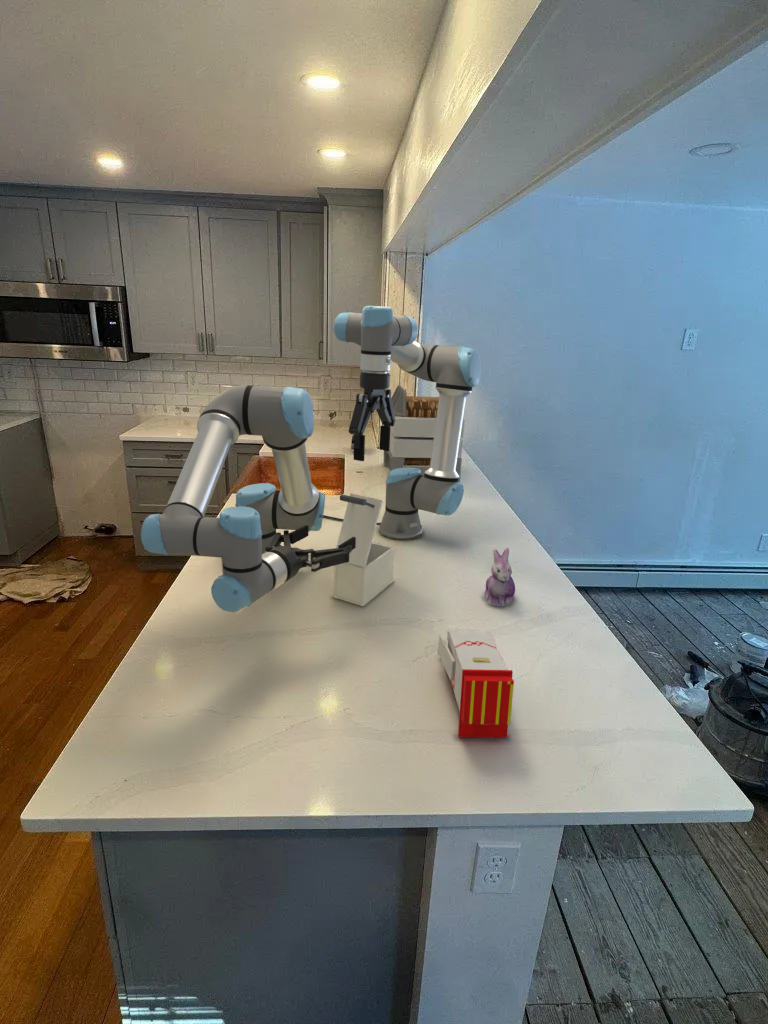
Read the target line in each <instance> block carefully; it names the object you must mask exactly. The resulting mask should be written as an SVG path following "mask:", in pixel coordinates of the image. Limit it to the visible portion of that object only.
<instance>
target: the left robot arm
mask: <svg viewBox="0 0 768 1024" xmlns="http://www.w3.org/2000/svg"><path fill="white" fill-rule="evenodd" d="M313 404H314V403H313V400H312V397H311V395H310V393H309V392H308V391H307V390H306V389H304V388H300V387H293V386H269V385H268V386H267V385H250V384H240V385H235V386H232V387H230V388H227V389H226V390H224V391H222V392H220V393H219V394H218V395H216V396H215V397H213V398H212V400H211V401H209V402H208V404H207V405H206V406H205V407H204V409H203V410H202V411H201V414H200V415H199V418H198V419H197V422H196V429H197V434H196V436H195V439H194V441H193V443H192V446H191V448H190V451H189V453H188V455H187V458H186V459H185V462H184V464H183V466H182V468H181V471H180V474H179V476H178V477H177V481H176V483H175V485H174V488H173V490H172V493H171V494H170V497H169V499H168V502H167V504H166V506H165V508H164V509H163V512H162V513H155V514H150V515H148V516H146V517H145V518H144V520H143V522H142V524H141V530H140V539H141V544H142V545H143V548H144V550H145V551H147V552H149V553H152V554H157V555H165V556H170V555H171V556H172V555H173V556H190V557H191V556H192V557H193V556H195V557H207V558H221V566H222V574H221V575H218V577H217V578H215V579H214V580H213V582H212V584H211V587H210V592H211V593H210V594H211V597H212V599H213V601H214V603H215V604H216V606H217V607H218V608H220V610H222V611H224V612H226V613H232V614H233V613H236V612H239V611H241V610H243V609H244V608H246V607H250V606H251V605H252V604H253V603H255V602H256V601H258V600H259V599H261V598H262V597H263V596H265V595H266V594H268V593H270V592H272V591H273V590H275V589H277V588H278V587H280V586H281V585H283V584H285V583H286V582H288V581H290V580H291V579H293V578H295V577H296V576H297V575H298V573H299V572H300V570H301V569H304V568H307V567H308V568H310V571H311V572H313V573H316V572H318V571H320V570H322V569H326V568H330V567H334V566H335V565H339V564H343V563H347V562H349V554H350V552H352V550H353V549H355V548H356V537H352V538H350V539H349V540H347V541H345V542H344V543H342V544H340V545H339V546H338V548H336V547H334V548H325V549H317V550H316V549H314V548H307V549H304V548H303V549H302V548H299V547H296V546H295V547H292V545H294V544H296V543H297V542H300V541H302V540H303V539H306V538H307V537H309V532H318V531H320V530H321V528H322V526H323V520H324V517H323V515H324V512H325V504H326V493H324V492H322V491H319V490H318V488H317V487H316V485H314V484H313V483H312V478H311V471H310V465H309V460H308V454H307V447H306V442H307V441H308V439H309V438H310V437H312V435H313V433H314V429H315V414H314V411H315V410H314V405H313ZM244 435H247V436H259V437H260V436H261V438H262V441H263V443H264V444H265V445H266V446H267V447H268V448H269V449H270V450H271V452H272V456H273V460H274V461H273V462H274V464H275V469H276V473H277V476H278V481H279V484H280V490H277V488H276V486H275V484H273V483H268V482H260V483H253V484H249V485H246V486H243V487H241V488H240V489H238V490H237V492H236V494H235V505H234V506H230V507H227V508H224V509H223V510H222V511H220V513H219V517H208V516H206V513H207V510H208V507H209V504H210V502H211V499H212V496H213V494H214V491H215V489H216V486H217V483H218V481H219V478H220V475H221V473H222V470H223V468H224V465H225V462H226V460H227V457H228V454H229V452H230V450H231V446H232V445H234V444H236V442H237V441H238V440H239V438H240V436H244ZM277 530H283V534H282V532H277ZM282 543H283V545H282ZM309 555H310V559H309Z"/></svg>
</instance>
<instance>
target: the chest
mask: <svg viewBox="0 0 768 1024" xmlns="http://www.w3.org/2000/svg"><path fill="white" fill-rule="evenodd" d="M395 549H396V548H395V547H394V546H389V545H385V544H382V543H379V542H374V541H372V544H371V548H370V552H369V556H368V559H367V563H366V567H362V566H358V565H354V564H351V563H343V564H339V565H335V566H333V598H335V599H338V600H341V601H345V602H347V603H351V604H353V605H357V606H361V607H364V606H366V605H367V604H368V603H369V602H370V601H372V600H373V599H374V598H376V596H377V595H379V594H380V593H381V592H382V591H384V590H385V589H386V588H387V587H389V585H391V584H392V583H394V568H395V567H394V565H395Z"/></svg>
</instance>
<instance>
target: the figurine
mask: <svg viewBox="0 0 768 1024" xmlns="http://www.w3.org/2000/svg"><path fill="white" fill-rule="evenodd" d="M492 552H493V553H492V554H493V564H492V567H491V569H490V570H491V575H490V576H489V577H488V578H487V579H486V581H485V591H484V599H485V600H486V601H487V603H488V604H489V605H491V606H494V607H504V606H508V605H510V604H511V603H512V602H513V600H514V596H515V593H516V584H515V581H514V579H513V577H512V573H513V570H512V566H511V564H510V562H509V557H510V548H509V547H505V549H504V550H503V552H502V553H501V554H500V552H499V551H498V549H497V548H493V549H492Z"/></svg>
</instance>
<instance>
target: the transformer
mask: <svg viewBox="0 0 768 1024" xmlns="http://www.w3.org/2000/svg"><path fill="white" fill-rule="evenodd" d="M407 394H408V393H407V390H406V389H404V388H403V387H402V385H399V384H398V385H397V386H396V388H395V390H394V392H393V394H392V395H391V400H392V405H393V411H394V416H395V422H394V423H395V425H394V426H390V448H389V451H385V450H383V466H384V467H388V468H389V472H390V471H391V470H393V469H397V468H405V466H406V467H408V466H411V467H415V466H416V467H417V466H418V467H430V461H431V454H432V447H433V439H434V432H435V424H436V417H437V409H438V402H439V396H415V395H414V396H413V395H412V396H411V395H407ZM390 418H391V417H390ZM464 429H465V419H464V418H463V422H462V429H461V436H460V443H459V450H458V457H457V464H456V472H457V474H458V475H459V482H460V483H461V472H462V461H463V460H462V453H463V442H464V441H463V440H462V439H463V438H464V431H465V430H464Z"/></svg>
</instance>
